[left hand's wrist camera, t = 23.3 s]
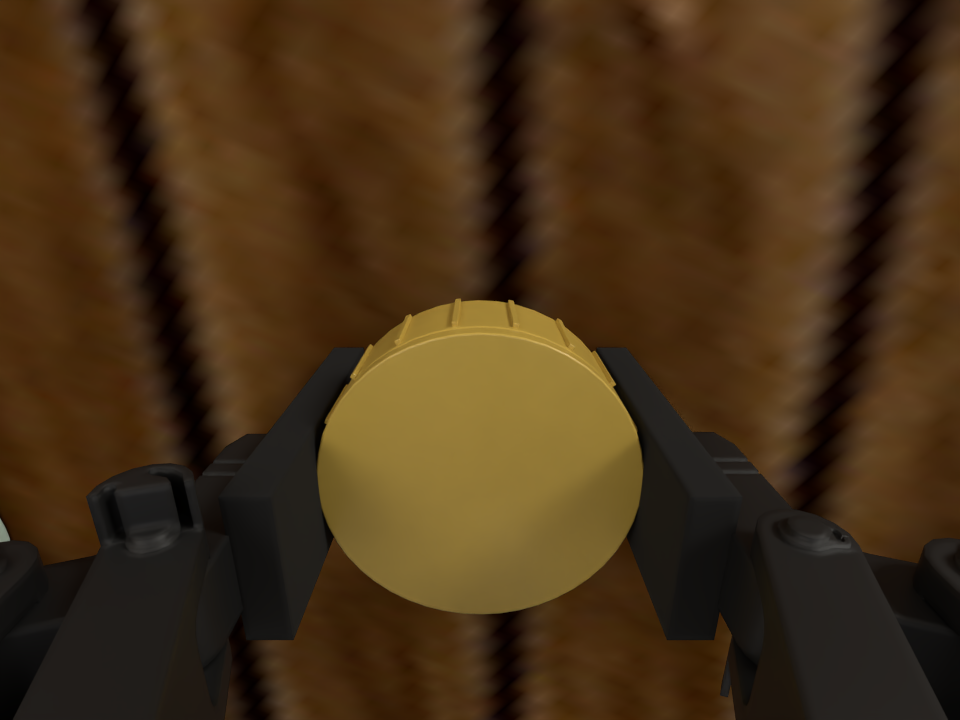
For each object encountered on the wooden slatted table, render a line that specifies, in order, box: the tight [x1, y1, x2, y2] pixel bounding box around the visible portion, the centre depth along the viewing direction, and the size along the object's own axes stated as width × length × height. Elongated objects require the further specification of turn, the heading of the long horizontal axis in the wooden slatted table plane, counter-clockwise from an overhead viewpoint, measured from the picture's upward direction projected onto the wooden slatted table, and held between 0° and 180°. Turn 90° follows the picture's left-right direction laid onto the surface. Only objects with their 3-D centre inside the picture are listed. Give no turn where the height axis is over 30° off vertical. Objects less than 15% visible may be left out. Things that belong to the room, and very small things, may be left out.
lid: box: [317, 299, 644, 614], centre depth 11 cm, size 6×6×2 cm
